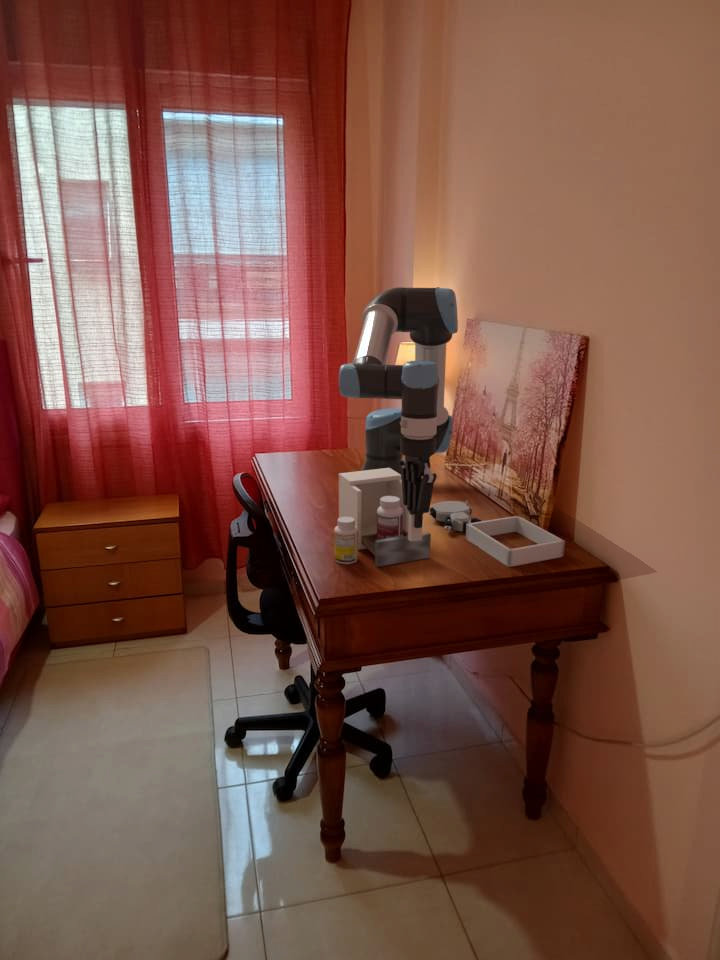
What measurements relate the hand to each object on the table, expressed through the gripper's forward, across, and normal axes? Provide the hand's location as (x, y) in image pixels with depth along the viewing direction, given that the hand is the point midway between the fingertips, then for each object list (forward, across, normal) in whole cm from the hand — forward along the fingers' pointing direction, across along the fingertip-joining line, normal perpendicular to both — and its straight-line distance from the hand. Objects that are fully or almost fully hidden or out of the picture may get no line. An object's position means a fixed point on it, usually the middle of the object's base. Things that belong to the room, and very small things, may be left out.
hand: (414, 539), depth 151 cm
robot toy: (+8, -23, +24) cm, 34 cm away
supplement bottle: (+8, -12, -12) cm, 18 cm away
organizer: (+8, -4, +29) cm, 30 cm away
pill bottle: (+6, -13, 0) cm, 14 cm away
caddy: (+8, -23, 0) cm, 24 cm away
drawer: (+8, -11, 0) cm, 14 cm away
